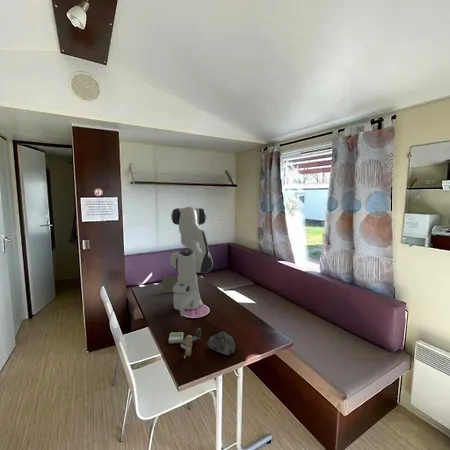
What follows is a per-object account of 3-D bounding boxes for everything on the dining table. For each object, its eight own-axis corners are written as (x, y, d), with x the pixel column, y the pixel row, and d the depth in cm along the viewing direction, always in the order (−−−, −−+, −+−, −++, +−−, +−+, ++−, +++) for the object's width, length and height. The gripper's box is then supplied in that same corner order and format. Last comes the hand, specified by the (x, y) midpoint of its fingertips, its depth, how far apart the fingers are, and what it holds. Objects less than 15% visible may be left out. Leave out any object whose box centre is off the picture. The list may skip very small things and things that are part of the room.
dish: (170, 336, 141) (170, 332, 141) (183, 335, 142) (183, 332, 141) (168, 343, 134) (168, 339, 134) (182, 342, 135) (182, 339, 135)
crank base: (181, 342, 135) (181, 340, 135) (192, 342, 136) (192, 340, 135) (178, 358, 122) (178, 356, 122) (191, 358, 122) (190, 356, 122)
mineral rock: (206, 346, 132) (206, 328, 131) (223, 340, 138) (223, 322, 136) (219, 360, 121) (219, 340, 120) (237, 352, 127) (238, 333, 126)
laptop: (182, 285, 221) (182, 271, 219) (184, 290, 209) (184, 275, 208) (161, 287, 216) (160, 272, 214) (162, 293, 204) (161, 277, 202)
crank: (184, 346, 129) (184, 335, 129) (180, 342, 133) (180, 332, 132) (202, 340, 135) (202, 330, 134) (198, 336, 139) (198, 326, 138)
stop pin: (185, 352, 126) (186, 335, 125) (191, 352, 126) (192, 335, 126) (184, 356, 123) (185, 338, 122) (190, 356, 123) (192, 338, 123)
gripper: (190, 277, 135) (190, 302, 136) (170, 289, 115) (171, 319, 116) (201, 278, 133) (201, 304, 134) (183, 291, 113) (183, 321, 114)
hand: (187, 311), depth 125 cm, fingers open, 8 cm apart
